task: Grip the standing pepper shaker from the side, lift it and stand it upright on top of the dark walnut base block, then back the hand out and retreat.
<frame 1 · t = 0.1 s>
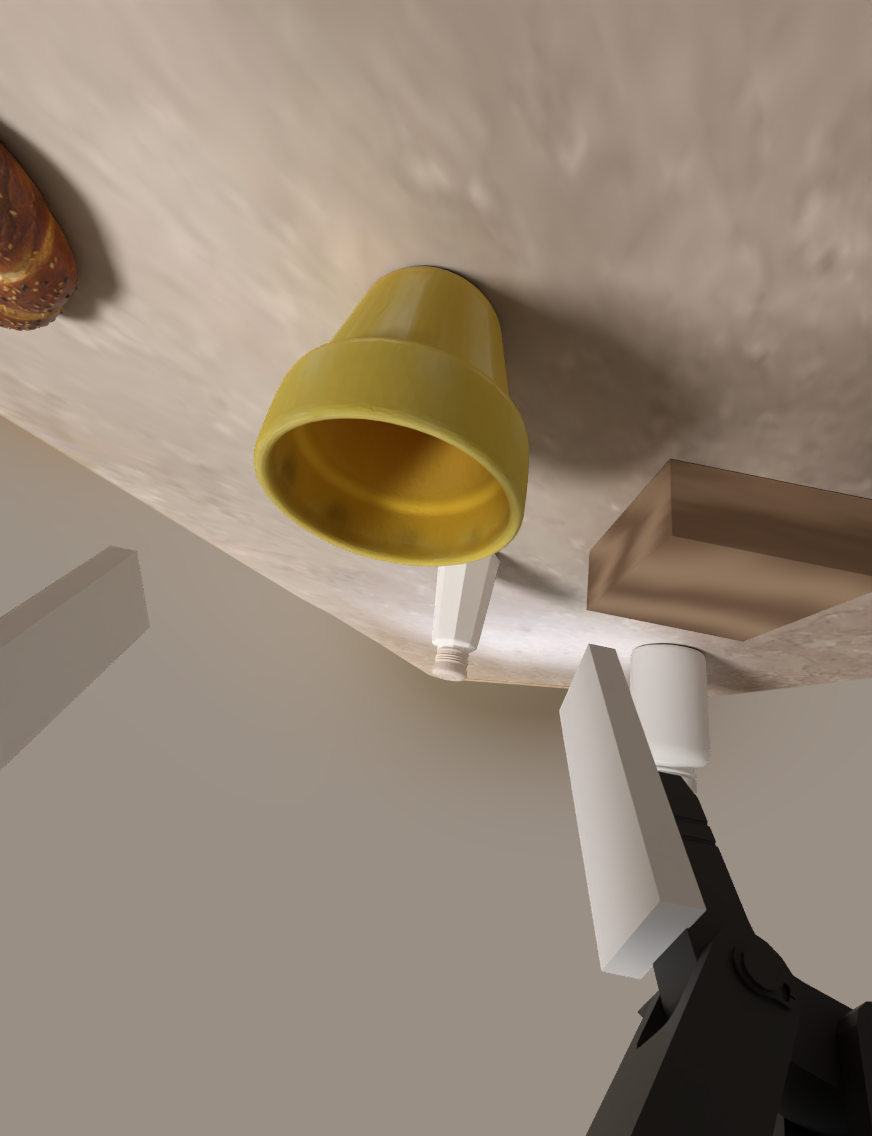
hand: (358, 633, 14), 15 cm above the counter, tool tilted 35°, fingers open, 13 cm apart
pill bottle: (666, 651, 56), on the counter
walnut base: (709, 530, 32), on the counter
pepper shaker: (470, 553, 42), on the counter
plant pot: (434, 330, 22), on the counter
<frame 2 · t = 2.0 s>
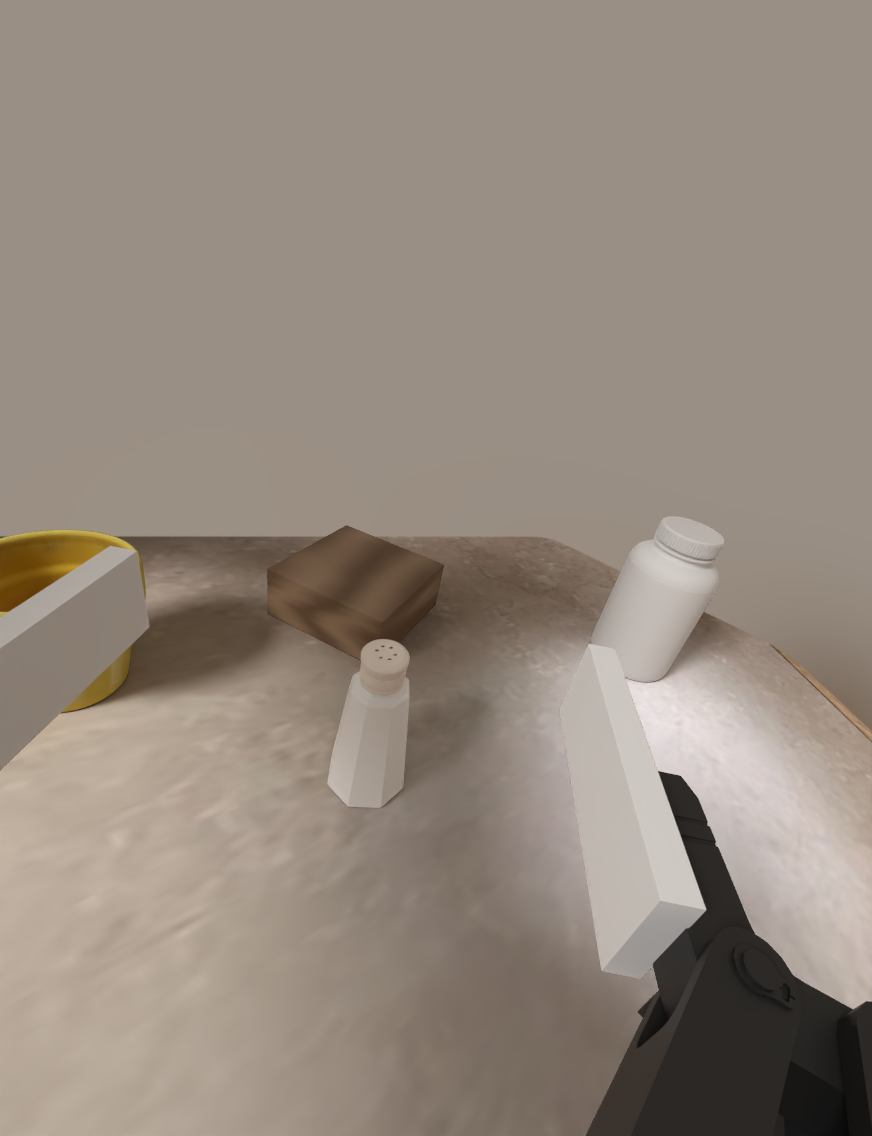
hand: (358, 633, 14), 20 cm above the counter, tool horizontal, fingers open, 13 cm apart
pill bottle: (626, 658, 49), on the counter
walnut base: (356, 608, 48), on the counter
pepper shaker: (366, 775, 32), on the counter
plant pot: (78, 679, 35), on the counter
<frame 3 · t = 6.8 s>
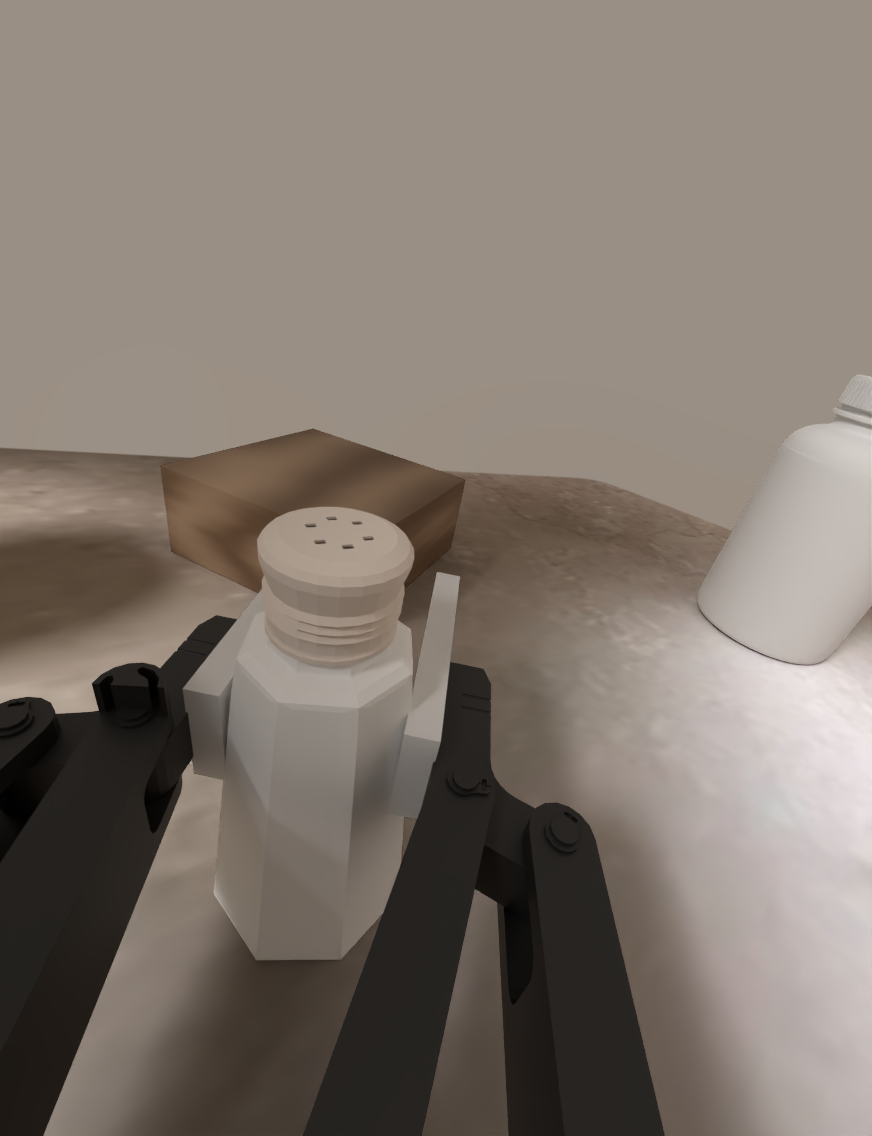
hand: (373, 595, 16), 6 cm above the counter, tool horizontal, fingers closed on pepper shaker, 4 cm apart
pill bottle: (756, 628, 31), on the counter
walnut base: (325, 549, 30), on the counter
pepper shaker: (313, 862, 14), on the counter, touching gripper
when the fingers open (12 cm above the counter, at t = 11.5 s): pepper shaker drops 1 cm, resting on walnut base.
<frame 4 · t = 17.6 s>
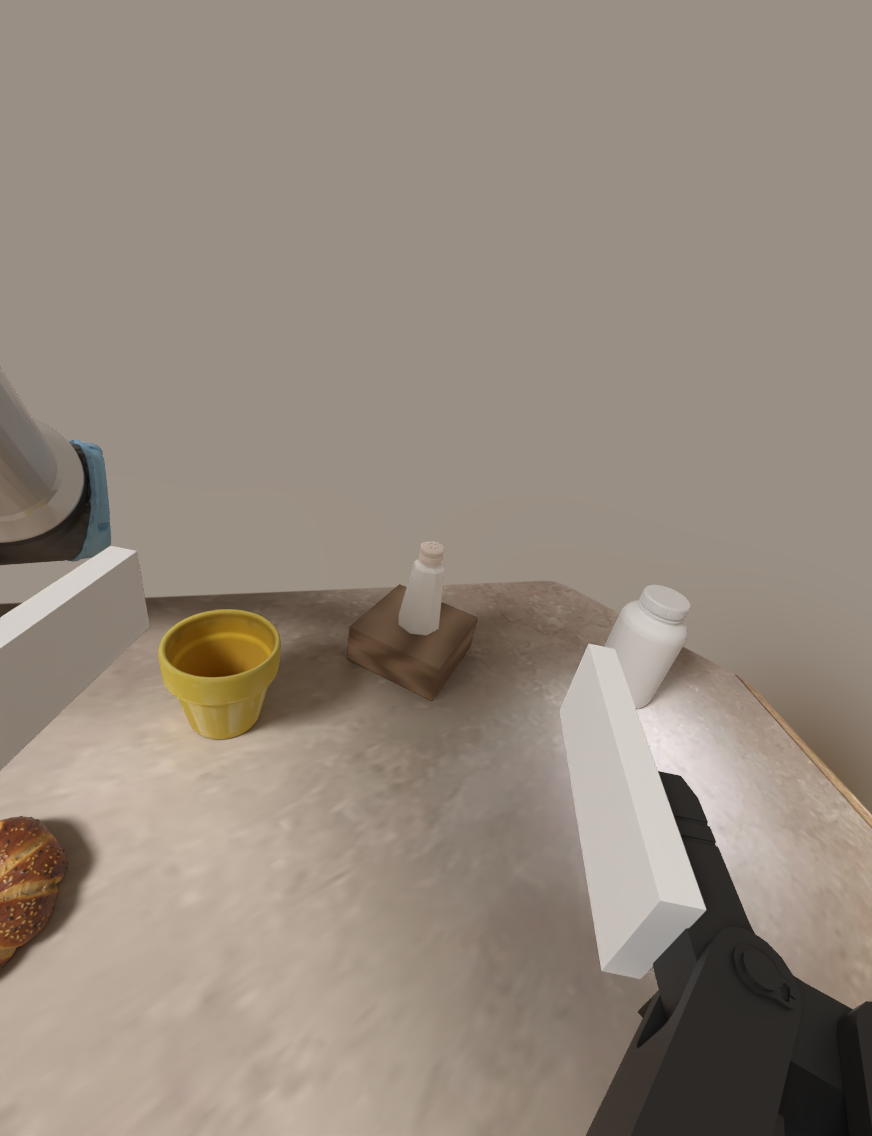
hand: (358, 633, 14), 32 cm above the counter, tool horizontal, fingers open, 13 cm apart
pill bottle: (619, 689, 63), on the counter
walnut base: (411, 652, 62), on the counter
pepper shaker: (418, 623, 59), point 5 cm above the counter, touching walnut base
plant pot: (227, 714, 49), on the counter
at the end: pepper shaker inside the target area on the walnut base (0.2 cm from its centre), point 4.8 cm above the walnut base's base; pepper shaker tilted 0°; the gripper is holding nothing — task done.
